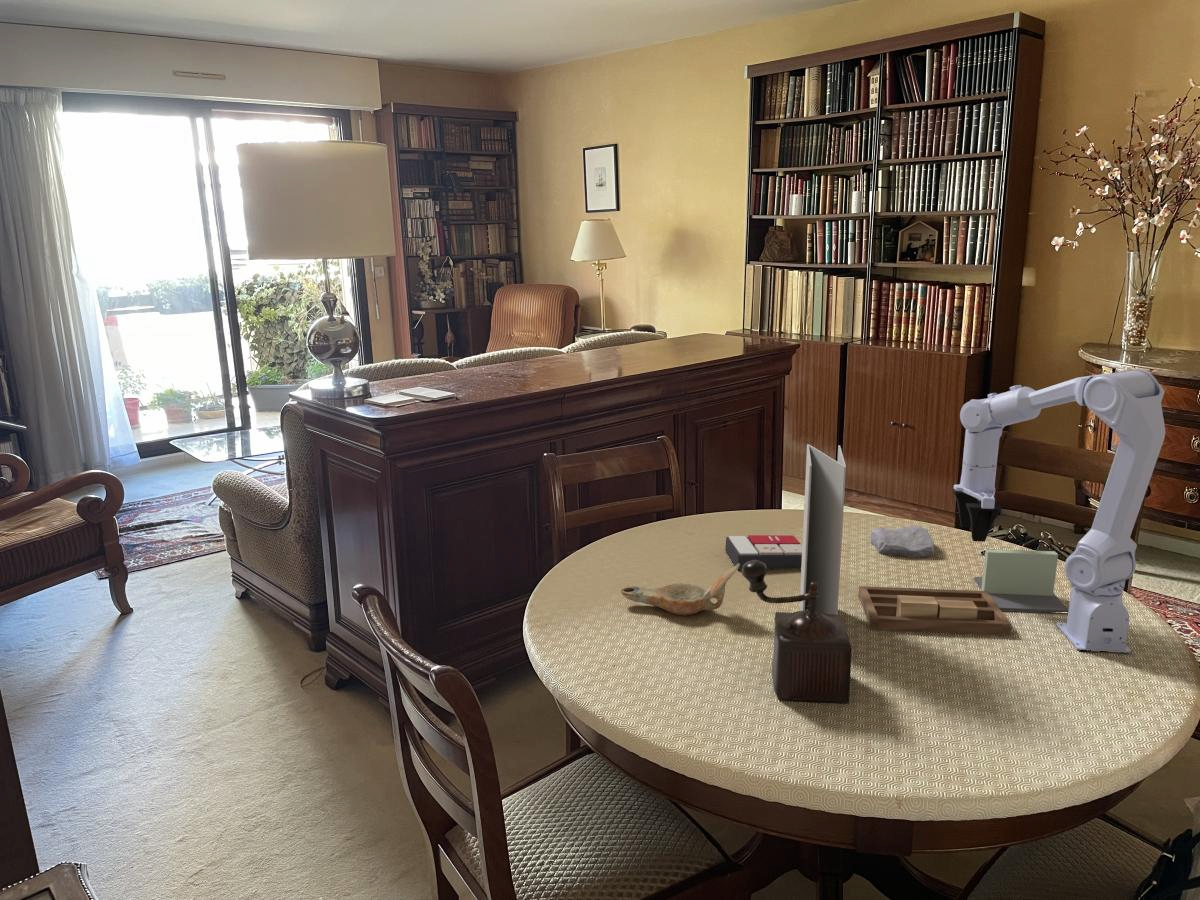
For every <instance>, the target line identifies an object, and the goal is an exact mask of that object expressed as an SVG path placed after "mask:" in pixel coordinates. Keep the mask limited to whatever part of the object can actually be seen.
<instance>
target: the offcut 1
mask: <svg viewBox="0 0 1200 900" xmlns="http://www.w3.org/2000/svg"><path fill="white" fill-rule="evenodd" d="M937 612H938V603H937V601H936V599H935V598H934V597H929V596H904V595H898V598H897V611H896V616H898V617H921V618H937Z"/></svg>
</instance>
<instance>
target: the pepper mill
mask: <svg viewBox="0 0 1200 900" xmlns="http://www.w3.org/2000/svg"><path fill="white" fill-rule="evenodd" d="M740 572H741V574H742V576H743V577H744V578H745V579H746V580H747V581H748V583H749V587H748V591H750V592H751V593H756V595H757V597H758V598H759V599H760V600H761V601H763V602H765V603H768V604H786V603H787V604H789V603H790V604H791V603H798V602H799V603H800V601H803V600H806V599H809V598H810V605H807V606H806V610H807V611H800V610H798V611H794V612H787V611H786V612H785V611H783V612H782V611H775V612H774V613H775V614H774V634H773V635H774V639H773V656H772V662H771V677H772V685H773V690H774V693H775V696H776V697H777V700H778V701H785V702H791V703H792V702H794V703H796V702H797V703H814V704H849V702H850V687H851V686H850V685H851V684H850V683H851V669H852V668H851V666H852V649H853V648H852V643H851V638H850V637H849V633H848V630H847V627H846V626H847V625H846V623H845V621H844V618H843V616H842V614H825V613H821V612H816V597H818V595H819V594H818V591H817V589H818V584H817V583H816V582H811V583H810V586H809V587H810V591H809V593H807V594H803V595H800V594H799V595H793V596H792V595H791V596H780V597H778V596H777V597H774V596H773V597H772V596H767V594H765V591H766V590H767V589H768V584H767V583H766V582H765V576H766V574H767V569H766V565H765V563H763V562H761V561H758V560H751V561H748V562H747V563H745V564H744V565H743V567H742V570H741V571H740Z"/></svg>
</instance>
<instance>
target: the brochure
mask: <svg viewBox="0 0 1200 900" xmlns="http://www.w3.org/2000/svg"><path fill="white" fill-rule="evenodd" d="M837 447H838V448H837V460H836V459H833V458H832V457H830V456H828V455H827V454H826V453H824V452H823V451H821V450H819V449H818V448H816V447H814V446H812V445H811V444H809V443H807V444H806V461H805V484H804V485H805V487H804V503H803V525H802V526H803V529H802V543H801V545H802V565H801V568H800V571H801V572H800V591H799V593H800V594H799V595H803V594H807V593H809V591H810V587H809V586H810V583H811V582H816V583H817V584H818V589H817V591H818V594H819V595H818V597H816V612H821V613H825V614H837V615H839V614H838V613H839V612H838V610H839V609H838V608H839V595H840V593H839V592H840V580H841V577H840V576H841V562H842V561H841V559H842V541H843V528H844V527H843V525H844V509H845V494H846V493H845V491H846V474H847V472H846V471H847V466H846V462H845V458H844V455H843V452H842V448H841V444H840V445H838V446H837ZM807 605H810V598H809V599H806V600H803V601H799V611H807V610H806V606H807Z"/></svg>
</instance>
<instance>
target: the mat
mask: <svg viewBox="0 0 1200 900" xmlns="http://www.w3.org/2000/svg"><path fill="white" fill-rule="evenodd" d="M982 578H983V576H974V577H973V580H974V582H975V583H976V584H977V587H979V589H981V587H982ZM988 594H989V595H990V596H991V598H992V599H993V601H994V602H995V603H996V605H997V606H998V607H999V609H1000V610H1001V611H1002V612H1017V611H1021V612H1020V613H1022V612H1023V613H1041V612H1068V610H1069V608H1068V607H1067V606H1065V604H1064V603H1063V602H1062V601H1061V600H1060V599H1059V597H1058V596H1057V595H1055V593H1054V592H1053V596H1045V595H1020V594H994V593H988ZM1024 611H1025V612H1024Z"/></svg>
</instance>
